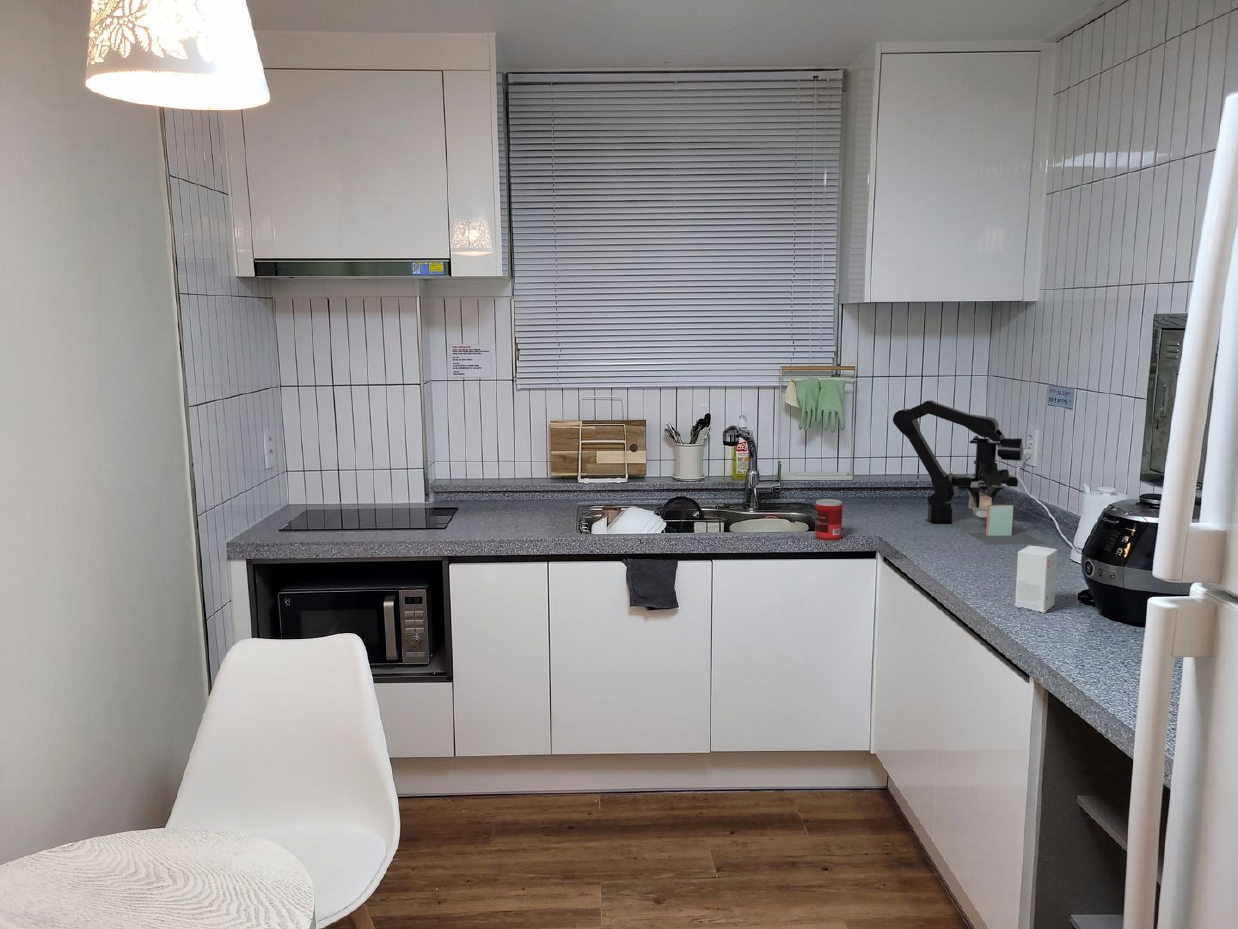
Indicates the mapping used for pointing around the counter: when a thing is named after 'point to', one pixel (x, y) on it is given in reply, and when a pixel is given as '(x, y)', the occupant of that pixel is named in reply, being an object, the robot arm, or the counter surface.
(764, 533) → the counter surface
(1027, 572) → the small box
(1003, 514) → the tile
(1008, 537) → the mat
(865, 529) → the counter surface
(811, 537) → the counter surface
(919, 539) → the counter surface
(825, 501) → the canned food
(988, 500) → the beige l-shaped piece
